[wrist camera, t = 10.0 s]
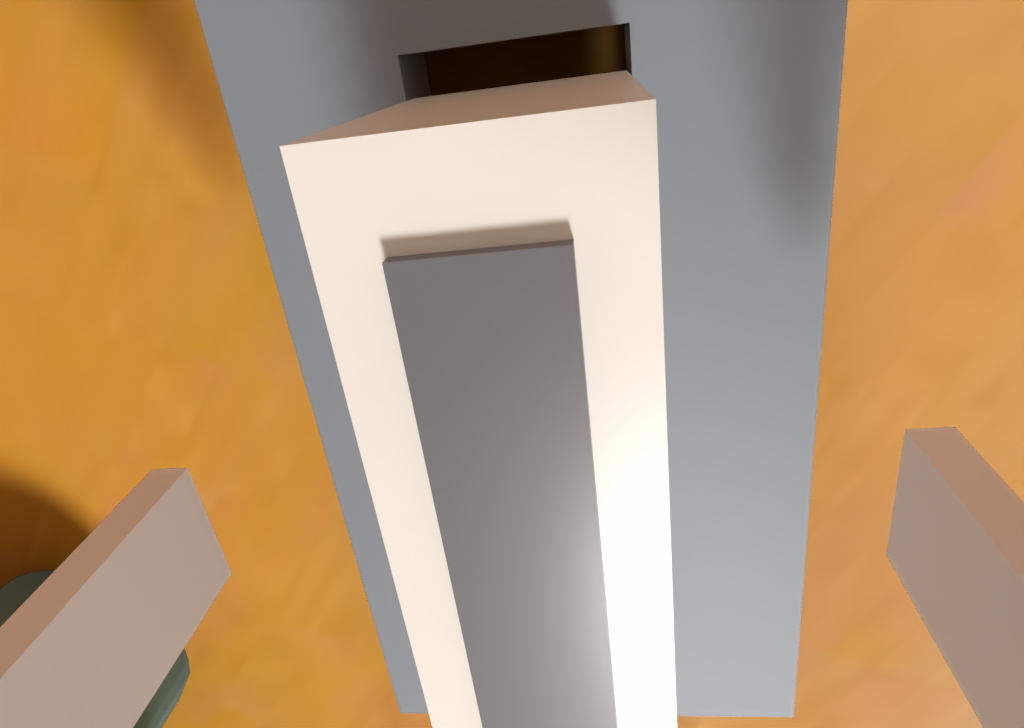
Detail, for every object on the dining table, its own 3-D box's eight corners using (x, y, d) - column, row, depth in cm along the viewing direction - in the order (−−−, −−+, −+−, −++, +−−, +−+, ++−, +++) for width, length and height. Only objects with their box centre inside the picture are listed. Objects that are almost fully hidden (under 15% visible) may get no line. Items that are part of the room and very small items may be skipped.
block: (434, 91, 16) (271, 149, 8) (622, 66, 16) (657, 100, 7) (516, 591, 23) (473, 903, 15) (649, 589, 22) (684, 915, 14)
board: (223, -95, 15) (160, -117, 13) (820, -206, 13) (866, -253, 11) (417, 653, 26) (400, 713, 23) (774, 652, 24) (793, 717, 21)
